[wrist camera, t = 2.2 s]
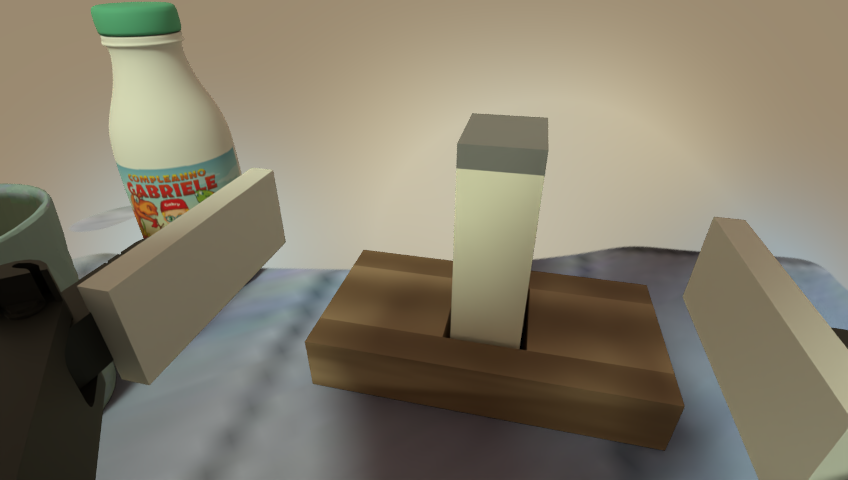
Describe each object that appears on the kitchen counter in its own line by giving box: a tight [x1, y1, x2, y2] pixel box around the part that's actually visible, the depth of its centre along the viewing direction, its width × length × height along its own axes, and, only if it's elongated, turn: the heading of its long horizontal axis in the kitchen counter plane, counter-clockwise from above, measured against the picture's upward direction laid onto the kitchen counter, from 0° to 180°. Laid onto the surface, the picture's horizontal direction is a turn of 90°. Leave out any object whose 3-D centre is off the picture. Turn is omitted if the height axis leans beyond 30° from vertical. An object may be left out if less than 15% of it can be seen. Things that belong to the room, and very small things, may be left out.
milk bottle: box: [91, 2, 252, 280], centre depth 32 cm, size 8×8×20 cm
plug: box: [450, 113, 548, 349], centre depth 26 cm, size 5×4×15 cm
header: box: [305, 250, 685, 451], centre depth 29 cm, size 10×20×4 cm, turn 77°
